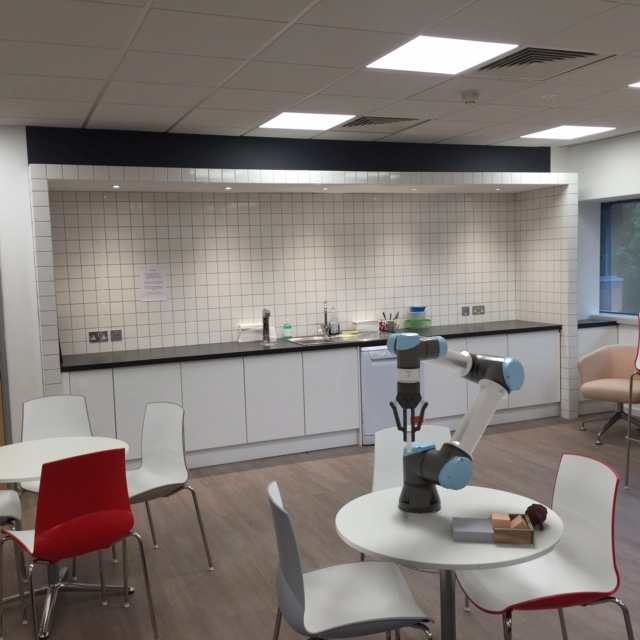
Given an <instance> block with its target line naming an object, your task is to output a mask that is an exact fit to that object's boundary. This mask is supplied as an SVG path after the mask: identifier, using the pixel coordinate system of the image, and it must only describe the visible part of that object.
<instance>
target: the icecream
mask: <svg viewBox="0 0 640 640" xmlns="http://www.w3.org/2000/svg"><path fill="white" fill-rule="evenodd" d="M548 513H549V512H548V508H547V507H545V506H544V505H542V504H541V503H539V504H538V503H532V504H531V505H529V506H527V508H526V510H525V511H524V514H528V517H529V519H530V522H531V524H535V525H537V526H538V528H539V530H540V531H541V532H542V531H544V530H545V525H544V523H545V521H546V520H547V516H548Z"/></svg>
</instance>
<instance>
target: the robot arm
mask: <svg viewBox="0 0 640 640" xmlns="http://www.w3.org/2000/svg"><path fill="white" fill-rule="evenodd" d="M448 347H449V346H448V342H447V340H446V339H445V338H444V337H442V336H440V335H437V336H436V335H432V336H422V335H420V334H419V333H416V332H402V333H393V334H390V335H389V336H388V339H387V341H386V349H387V351H388V352H389V353H390V354H391V355H395V356H396V380H397V382H396V393H397V394H396V396H395V398H394V399H393V400H389V406H390V407H391V409H392V412H393V416H394V420H395V425H396V428H397V431H401V432H402V437H403V439H402V440H403V443H406V444H405V445H404V447H403V451H402V473H403V475H402V478H403V485H402V488H401V491H400V494H399V497H398V507H399V508H400V509H401V510H404V511H405V512H410V513H414V514H415V513H416V514H425V513H426V514H427V513H433V512H436V511H438V510H439V509H441V507H442V502H441V501H442V500H441V497H440V494H439V491H438V489H437V486H439V487H442V488H444V489H446V490H453V491H460V490H463V489H464V488H466V487H467V486H468V485H469V484H470V482H471V480H472V479H473V475H474V464H473V462H474V457H473V455H472V454H473V452H474V450H475V449H476V447H477V445H478V443H479V441H480V439H481V437H482V436H483V434H484V432H485V430H486V428H488V427H487V426H488V425H489V423H490V422H491V420H492V418H493V416H494V414H495V413H496V411H497V409H498V408H499V405H500V403H501V402H502V400H506V399H508V398H509V396H510V394H511V393H512V392H517V391H519V390H521V389H522V387H523V386H524V383H525V369H524V365H523V364H522V363H521V361H520V360H518V359H517V358H514V357H510V356H498V355H494V354H493V355H491V354H483V353H471V352H468V351H460V352H459V351H456V350H452V349H450V348H448ZM421 363H423V364H427V365H431V366H434V367H436V368H440V369H443V370H446V371H449V372H452V373H453V375H455V376H457V377H460V378H461V379H464V380H467V381H469V382H472V383H474V384H477V385H478V386H479V389H478V390H477V393H476V395H475V396H474V398H473V400H471V401H472V402H471V403H470V405H469V406H468V408H467V410H466V412H465V414H464V416H463V418H462V419H461V420H460V422H459V424H458V425H457V428H456V429H455V432H454V434H453V435H452V436H451V439H450V440H449V441H446V442H443V444H442V445H441V447H440V448H439V449H437V446H436V443H435V442H431V441H416V432H420V431H421V428H422V425H423V420H424V418H425V417H424V416H425V412H426V410H427V408H428V406H429V401H428V400H425V399H423V397H422V395H421V382H420V380H421ZM419 404H420V406H421V408H420V411H419V416H418V420H417V425H416V417H415V416H416V411H415V410H416V408H417V407H418V406H419ZM397 405H399V406H400V408H401V409H402V424H401V420H400V416H399V412H398V408H397ZM408 410H410V430H408ZM415 441H416V442H415Z"/></svg>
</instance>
